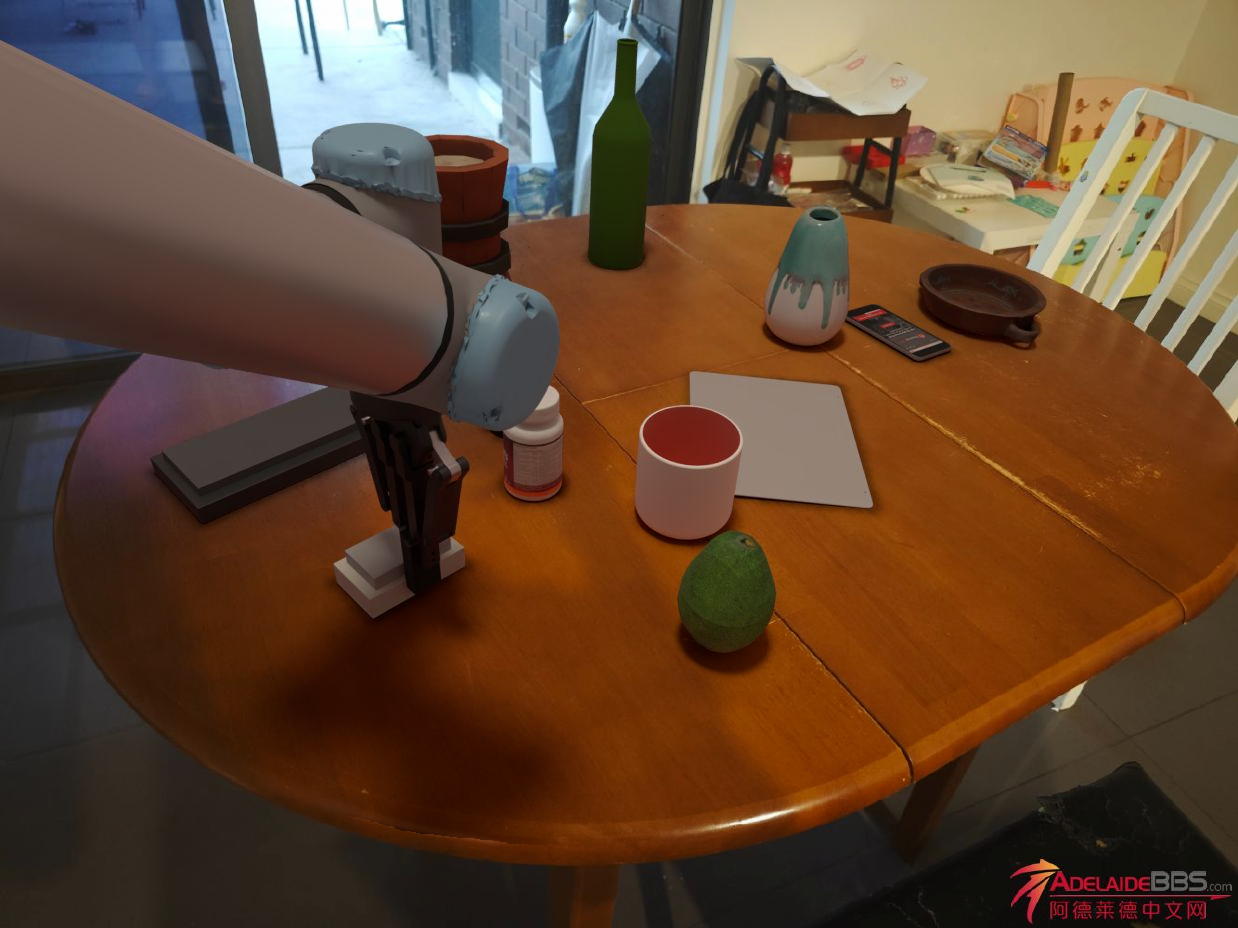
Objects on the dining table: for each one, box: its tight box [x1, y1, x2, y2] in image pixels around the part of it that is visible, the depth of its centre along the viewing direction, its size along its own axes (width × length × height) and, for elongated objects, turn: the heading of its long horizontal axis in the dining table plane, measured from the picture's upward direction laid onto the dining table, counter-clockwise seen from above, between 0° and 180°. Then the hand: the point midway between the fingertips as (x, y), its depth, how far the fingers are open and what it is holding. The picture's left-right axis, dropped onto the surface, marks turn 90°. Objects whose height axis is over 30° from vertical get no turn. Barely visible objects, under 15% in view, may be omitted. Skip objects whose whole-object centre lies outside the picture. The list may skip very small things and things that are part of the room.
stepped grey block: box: [332, 524, 466, 619], centre depth 78 cm, size 10×6×4 cm, turn 135°
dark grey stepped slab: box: [149, 386, 365, 525], centre depth 93 cm, size 26×11×3 cm, turn 136°
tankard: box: [423, 133, 513, 282], centre depth 108 cm, size 22×25×25 cm
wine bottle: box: [587, 37, 653, 271], centre depth 129 cm, size 9×9×32 cm
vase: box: [762, 205, 851, 347], centre depth 116 cm, size 12×12×18 cm
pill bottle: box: [502, 384, 565, 502], centre depth 87 cm, size 6×6×11 cm
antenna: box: [689, 370, 874, 509], centre depth 101 cm, size 25×24×1 cm
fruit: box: [676, 530, 777, 654], centre depth 71 cm, size 8×8×12 cm
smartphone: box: [845, 303, 953, 362], centre depth 123 cm, size 7×1×15 cm
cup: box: [634, 404, 743, 540], centre depth 85 cm, size 10×10×10 cm
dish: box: [918, 263, 1047, 344], centre depth 128 cm, size 18×22×5 cm
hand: (424, 583), depth 76 cm, fingers closed
